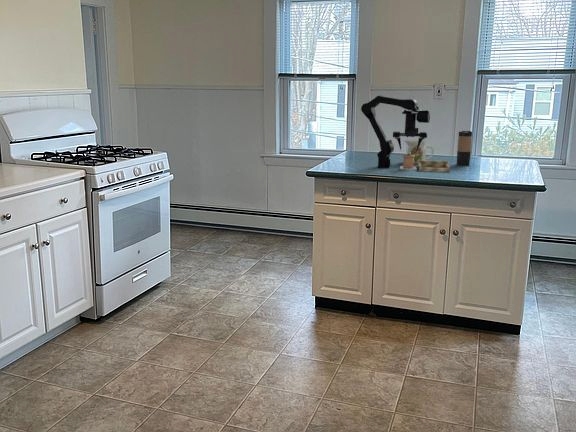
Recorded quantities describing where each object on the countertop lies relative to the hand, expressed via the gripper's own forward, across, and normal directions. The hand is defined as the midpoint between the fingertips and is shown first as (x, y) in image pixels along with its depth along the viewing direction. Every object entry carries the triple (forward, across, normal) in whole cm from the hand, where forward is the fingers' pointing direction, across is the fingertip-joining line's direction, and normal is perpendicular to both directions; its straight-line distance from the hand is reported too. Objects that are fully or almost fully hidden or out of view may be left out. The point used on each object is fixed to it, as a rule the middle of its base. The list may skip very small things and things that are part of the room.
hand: (408, 150), depth 320 cm
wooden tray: (+11, +14, 0) cm, 18 cm away
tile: (+11, 0, 0) cm, 11 cm away
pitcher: (+11, +6, +21) cm, 24 cm away
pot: (+10, 0, 0) cm, 10 cm away
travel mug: (+11, +32, +18) cm, 38 cm away
